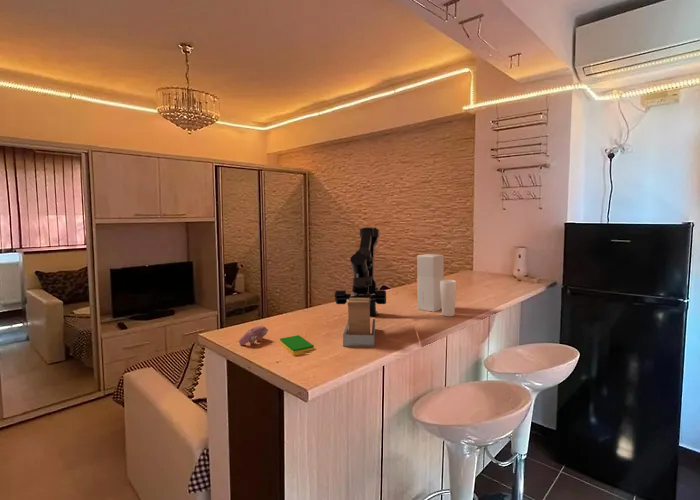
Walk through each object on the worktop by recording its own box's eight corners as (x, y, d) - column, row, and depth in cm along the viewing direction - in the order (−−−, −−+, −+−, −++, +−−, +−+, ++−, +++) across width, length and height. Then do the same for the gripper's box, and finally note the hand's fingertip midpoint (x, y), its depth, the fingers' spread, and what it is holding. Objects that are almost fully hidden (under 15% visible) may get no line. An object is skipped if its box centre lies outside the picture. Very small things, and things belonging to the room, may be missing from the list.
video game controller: (245, 351, 133) (251, 334, 131) (237, 343, 135) (242, 327, 133) (265, 342, 142) (271, 327, 139) (257, 335, 144) (263, 320, 141)
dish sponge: (293, 357, 123) (293, 349, 123) (279, 345, 135) (279, 338, 135) (314, 352, 126) (314, 345, 126) (299, 341, 139) (298, 334, 138)
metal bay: (348, 330, 148) (348, 319, 148) (375, 331, 147) (375, 319, 147) (343, 348, 128) (342, 335, 128) (374, 348, 128) (373, 335, 127)
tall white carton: (417, 309, 180) (416, 255, 178) (427, 305, 186) (427, 253, 184) (434, 312, 174) (433, 256, 172) (444, 308, 180) (443, 254, 178)
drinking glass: (456, 317, 164) (456, 282, 162) (440, 317, 165) (440, 282, 164) (455, 313, 170) (455, 279, 169) (439, 313, 172) (439, 279, 170)
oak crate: (350, 336, 139) (349, 297, 138) (370, 336, 138) (369, 297, 137) (348, 342, 132) (347, 302, 131) (369, 343, 131) (369, 302, 130)
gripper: (334, 268, 143) (331, 305, 133) (385, 268, 141) (386, 304, 131) (337, 286, 151) (334, 321, 141) (385, 285, 150) (386, 321, 140)
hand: (360, 317), depth 138 cm, fingers closed, pressing on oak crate
